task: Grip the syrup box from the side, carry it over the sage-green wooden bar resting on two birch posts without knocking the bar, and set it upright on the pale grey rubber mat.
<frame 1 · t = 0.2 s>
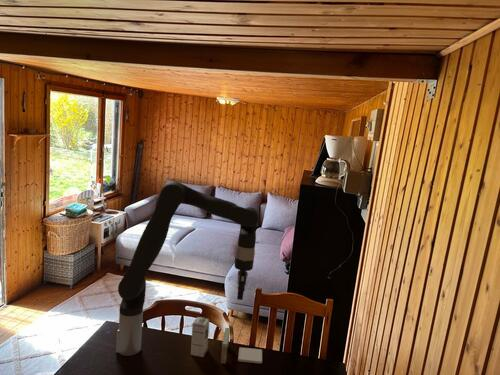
hand: (240, 294, 146), 29 cm above the table, tool pointing down, fingers open, 8 cm apart
wooden bar: (225, 338, 152), point 7 cm above the table, touching birch posts
grey mat: (250, 356, 153), on the table
syrup box: (199, 352, 153), on the table
birch posts: (224, 354, 153), on the table
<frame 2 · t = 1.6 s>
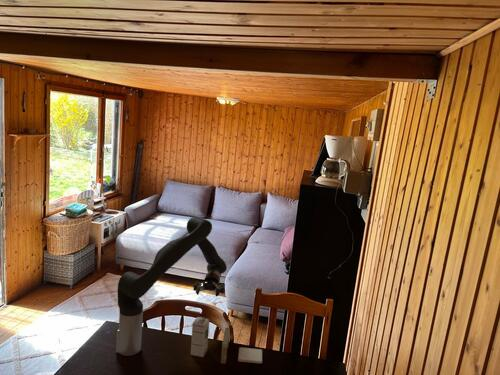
hand: (207, 293, 162), 21 cm above the table, tool horizontal, fingers open, 8 cm apart
nothing on the table moved.
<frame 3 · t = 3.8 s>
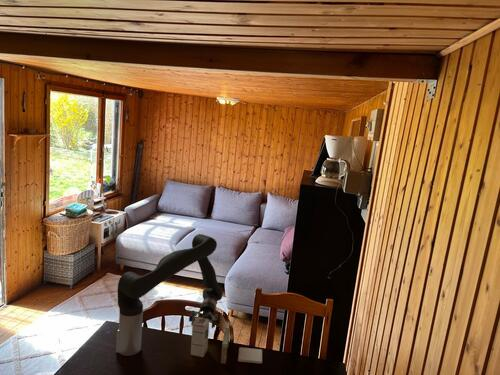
hand: (202, 325, 158), 8 cm above the table, tool horizontal, fingers open, 8 cm apart
nothing on the table moved.
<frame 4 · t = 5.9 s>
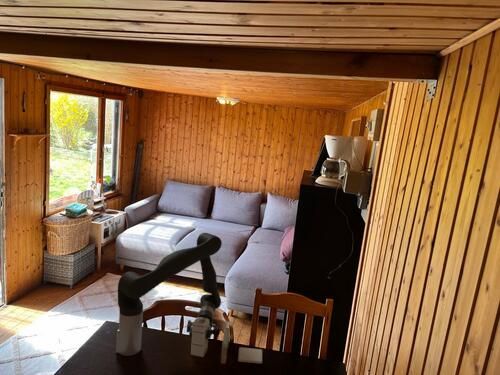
hand: (199, 336, 149), 9 cm above the table, tool horizontal, fingers closed on syrup box, 6 cm apart
syrup box: (199, 352, 153), on the table, touching gripper
everything else where it was.
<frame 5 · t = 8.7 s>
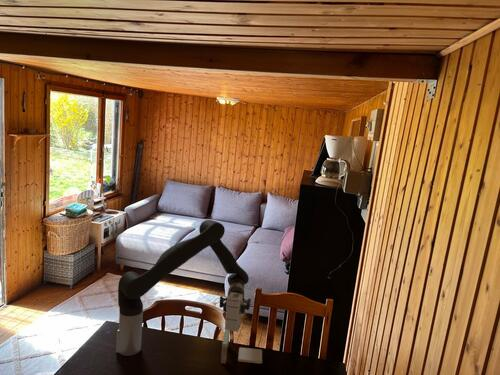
hand: (233, 311, 148), 21 cm above the table, tool horizontal, fingers closed on syrup box, 6 cm apart
syrup box: (232, 327, 151), point 12 cm above the table, touching gripper
everything else where it was.
when the fingers open (11 cm above the table, at t = 11.9 s): syrup box drops 1 cm, resting on grey mat.
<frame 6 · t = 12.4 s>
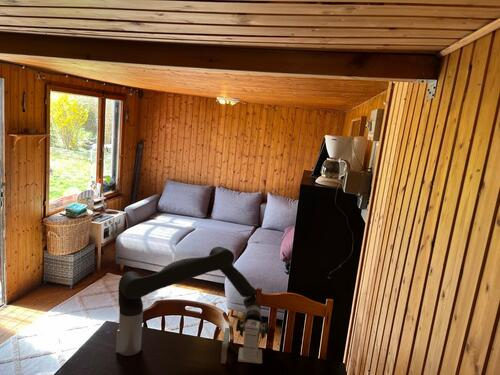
hand: (252, 335, 149), 11 cm above the table, tool horizontal, fingers open, 8 cm apart
syrup box: (249, 355, 152), point 1 cm above the table, touching grey mat
everything else where it was.
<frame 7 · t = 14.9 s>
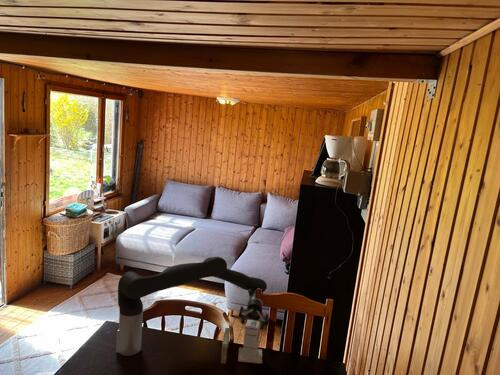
hand: (252, 325, 160), 9 cm above the table, tool horizontal, fingers open, 8 cm apart
nothing on the table moved.
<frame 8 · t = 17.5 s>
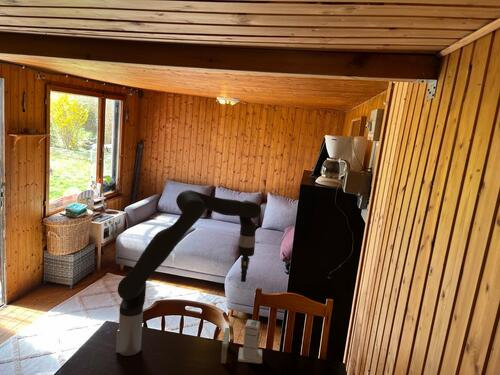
hand: (243, 278, 165), 28 cm above the table, tool pointing down, fingers open, 8 cm apart
nothing on the table moved.
at the end: syrup box inside the target area on the grey mat (0.6 cm from its centre), point 0.8 cm above the grey mat's base; syrup box tilted 0°; wooden bar moved 0.0 cm from its start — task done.
